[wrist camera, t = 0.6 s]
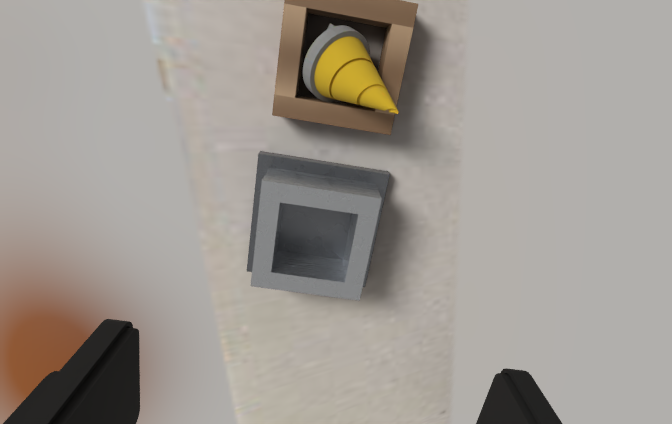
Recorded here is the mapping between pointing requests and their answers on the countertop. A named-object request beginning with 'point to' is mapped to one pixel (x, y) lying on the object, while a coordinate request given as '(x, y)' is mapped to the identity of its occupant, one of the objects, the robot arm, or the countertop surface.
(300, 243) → the grey hollow square block
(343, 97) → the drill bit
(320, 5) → the socket block
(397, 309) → the countertop surface
